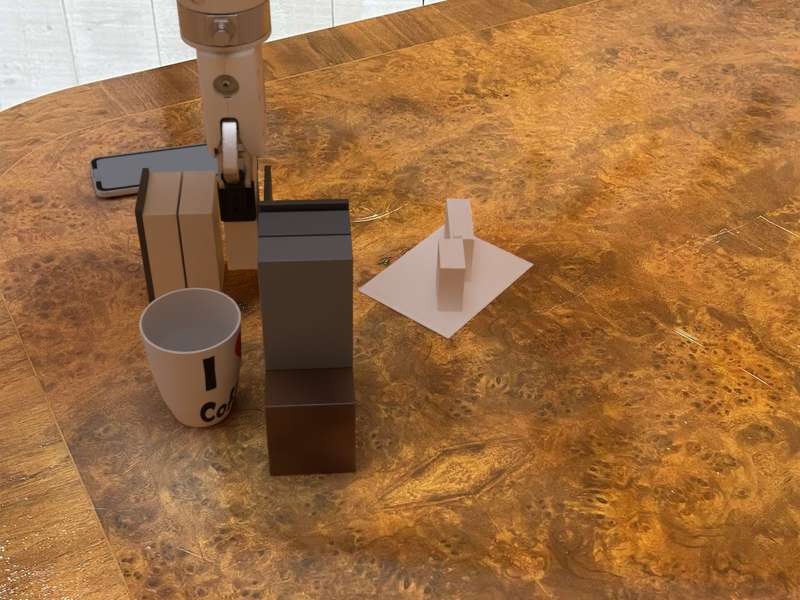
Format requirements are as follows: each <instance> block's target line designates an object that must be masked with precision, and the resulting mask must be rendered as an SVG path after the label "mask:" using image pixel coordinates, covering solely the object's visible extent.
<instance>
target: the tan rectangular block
mask: <svg viewBox="0 0 800 600" xmlns="http://www.w3.org/2000/svg"><path fill="white" fill-rule="evenodd" d="M222 151H223V144H222ZM238 151H245V147H244V145H243V144H238ZM238 162H239V169H242V170H243V173H244V163H243V158H241V159H238ZM250 171H251V181H254V185H255V199H256V212H257V218H256V220H255V221H249V222H223V229H224V239H225V241H224V242H225V250H226V260H227V270H228V271H235V270H236V271H237V270H258V265H257V254H258V221H259V206H258V203H259V201H261V198H260V196H261V195H260V183H259V167H258V168H257V156H253V157H251V156H250Z"/></svg>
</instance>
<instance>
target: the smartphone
mask: <svg viewBox="0 0 800 600" xmlns="http://www.w3.org/2000/svg"><path fill="white" fill-rule="evenodd" d="M89 168H90V172H91V178H92V183H93V186H94V191H95V194H96V195H97V196H98V197H100V198H109V197H118V196H123V195H125V196H126V195H131V194H138V189H139V184H140V179H141V173H142V168H149V173H150V172H182V179H183V175H184V172H186V171H216V178H217V182H219V180H218V161H217V157H216V158H214V157H212V156H211V155H210V154H209V151H208V146H207V142H202V143H201V142H200V143H195V144H187V145H178V146H171V147H162V148H155V149H148V150H139V151H133V152H123V153H116V154H110V155H101V156H96V157H93V158H91V159H90V161H89Z"/></svg>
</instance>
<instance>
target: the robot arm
mask: <svg viewBox="0 0 800 600" xmlns="http://www.w3.org/2000/svg"><path fill="white" fill-rule="evenodd" d="M175 3H176V11H177V18H178V19H177V20H178V26H179V35H180V39H181V40H182V41H183V43H184V44H186V45H187V46H189V47H190V48H193V49H195V54H196V64H197V75H198V83H199V84H198V85H199V93H200V101H201V102H200V103H201V108H202V118H203V125H204V133H205V138H206V139H205V140H206V143H207V146H208V151H209V154H210V155H211V156H212V157H214V158H216V157H217V161H218V180H219V181H218V182H217V189H218V199H219V209H220V219H221V222H223V223H224V222H249V221H255V220H256V218H257V212H256V199H255V185H254V181H251V171H250V156H251V157H253V156H257V168H258V169H259V158H262V157H263V156H264V155H265V153H266V152H267V151H266V150H267V130H268V129H267V128H268V127H267V125H268V123H267V122H268V109H267V97H266V96H267V95H266V83H265V71H264V56H263V47H262V44H265V42H267V41H268V40H269V38H270V37H271V35H272V17H271V15H272V13H271V0H176V2H175ZM222 144H223V151H222ZM238 144H243V145H244V147H245V151H238ZM241 158H243V163H244V173H243V170H242V169H239V162H238V159H241Z"/></svg>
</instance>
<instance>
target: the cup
mask: <svg viewBox="0 0 800 600" xmlns="http://www.w3.org/2000/svg"><path fill="white" fill-rule="evenodd" d="M138 328H139V333H140V336H141V341H142V344H143V347H144V352H145V355H146V359H147V364H148V367H149V370H150V372H151V374H152V376H153V379H154V382H155V383H156V387H157V388H158V392H159V393H160V395H161V398H162V400H163V402H164V403H165V404H166V406H167V408H168V409H169V410H170V412H171V413H172V415H173V416H174V418H175V419H176V420H177V421H178V422H179V423H180V424H182V425H184V426H187V427H191V428H208V427H211V426H214V425H216V424H218V423H219V422H221V421H223V420H224V419H225V418H226V417H227V416H228V415H229V414H230V411H231V409H232V406H233V403H234V400H235V396H236V394H237V391H238V387H239V379H240V372H241V363H242V355H243V353H242V352H243V351H242V313H241V309H240V307H239V305H238V304H237V302H236V301H235V300H234V299H233V298H232V297H230V296H229V295H227V294H226V293H224V292H223V293H221V292H219V291H216V290H212V289H207V288H186V289H180V290H176V291H172V292H169V293H167V294H164V295H162V296H160V297H159V298H157V299H155V300H154V301H153V302H151V303H150V304H149V303H148V305H147V306H146V307H145V309H144V310H143V311H142V313H141V315H140V317H139V322H138Z"/></svg>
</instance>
